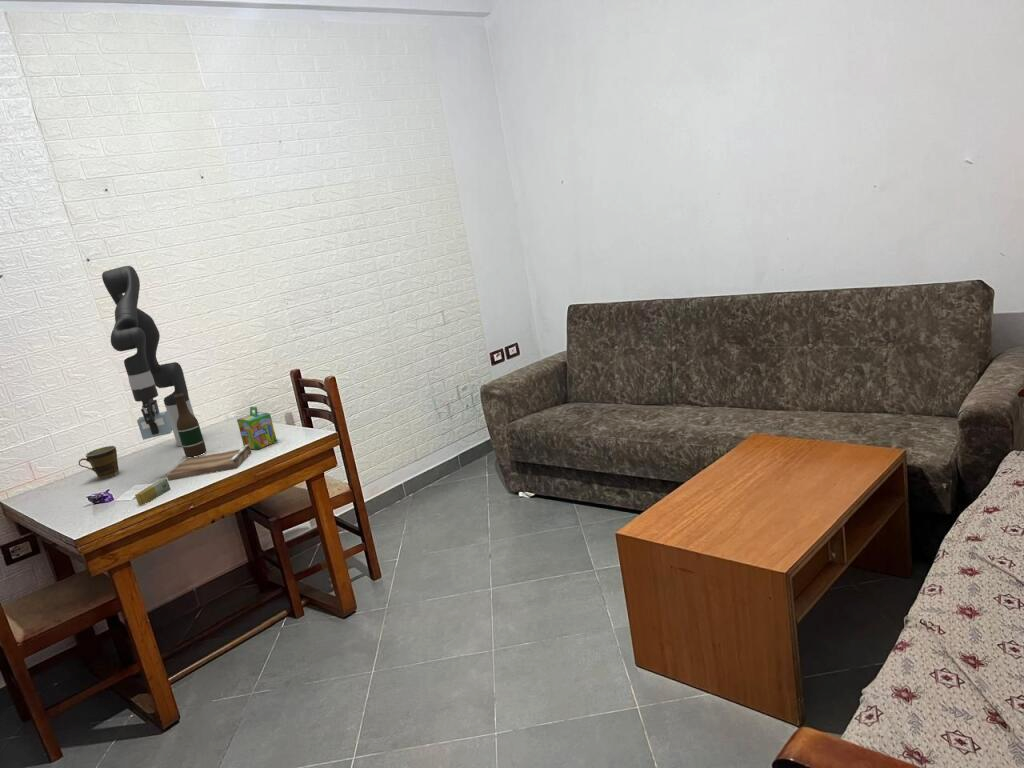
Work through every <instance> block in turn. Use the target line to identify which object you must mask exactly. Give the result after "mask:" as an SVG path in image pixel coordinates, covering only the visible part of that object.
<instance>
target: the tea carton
mask: <svg viewBox="0 0 1024 768" xmlns="http://www.w3.org/2000/svg"><path fill="white" fill-rule="evenodd" d="M149 420H151V418H149ZM155 420H156V424H157V427H158V430H159V433H158V434H155V435H152V432H151V429H150V426H149V425H148V424H146V421H145V419H144V416H143V415H142V416H140V417H138V419H137V420H136V421H137V425H138V427H139V431H140V434H141V438H142V441H143V440H148V439H151V438H156V437H160V436H164V435H170V434H171V433H172V432H173V428H172V425H171V422H170V419H169V415H168V412H167V410H166V411H162V412H161V411H160V413H158V414H156V416H155Z"/></svg>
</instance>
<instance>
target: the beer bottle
mask: <svg viewBox="0 0 1024 768" xmlns="http://www.w3.org/2000/svg"><path fill="white" fill-rule="evenodd" d="M184 396H185V395H184V394H183V393H180V394H176V395H174V399H175V401H176V405H177V409H178V415H179V417H178V420H177V429H178V433H179V436H180V440H181V443H182V446H181V447H182V449H183V453H184V456H185V457H186V458H187V457H194V456H198V455H201V454H203V453H205V452H206V453H207V448H206V444H205V440H204V437H203V434H202V430H201V427H200V423H199V420H198V419H197V417H196V416H195V414H194V415H192V414H191V413H190V411H189V409H188V406H187V404H186V401H185V398H184ZM206 453H205V454H206ZM203 455H204V454H203ZM201 456H202V455H201ZM198 457H199V456H198ZM194 458H195V457H194Z"/></svg>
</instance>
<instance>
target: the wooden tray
mask: <svg viewBox="0 0 1024 768" xmlns="http://www.w3.org/2000/svg"><path fill="white" fill-rule="evenodd" d="M251 452H252V449H250V448H249V445H245V446H244V445H243V447H241V448H240V449H235V450H229V451H224V452H217V453H212V454H208V455H201V456H198V457H194V458H185V459H184V460H183V461H182V462H180V463H179V464H178V465H177V466H176V467H174V468H173V469H172V470H171V471H169V472H168V474H166V477H167V478H166V479H167V481H173V480H179V479H184V478H189V476H191V477H195V475H196V476H200V474H202V475H205V474H204V473H207V474H211V473H210V472H213V473H217V472H216V471H219V472H222V471H221V470H224V471H228V470H227V469H230V470H233V469H234V468H235V469H237V468H238V467H239V466H240V465H241V464H242V463H243V462H244V461H246V459H248V457H249V456H250V455H251V454H252V453H251ZM250 453H251V454H250ZM249 454H250V455H249ZM248 455H249V456H248ZM235 469H234V470H235Z"/></svg>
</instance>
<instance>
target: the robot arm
mask: <svg viewBox="0 0 1024 768" xmlns="http://www.w3.org/2000/svg"><path fill="white" fill-rule="evenodd" d="M101 277H102V282H103V284H104V286H105V288H106V290H107V292H108V294H109V295H110V298H111V299H112V300H113V302H114V304H115V309H114V322H115V323H114V326H113V328H112V331H111V334H110V344H111V347H112V348H113V349H114V350H115V351H118V352H125V351H130V350H135V349H136V353H134V354H133V355H131V356H128V357H126V358H125V359H124V361H123V364H124V367H125V372H126V375H127V377H128V382H129V383H128V384H129V387H130V389H131V392H132V396H133V399H134V401H135V402H139V403H140V402H141V404H142V406H141V409H140V411H141V413H142V417H143V416H144V419H145V421H146V424H148V425H149V426H150V429H151V432H152V435H155V434H158V433H159V430H158V427H157V424H156V420H155V416H156V414H158V413H161V411H160V409H159V405H158V401H157V399H155V398H156V397H158V396H159V393H158V389H165V388H170V387H174V391H173V392H172V393H170V394H169V395H167V396H165V397H164V398H163V403H164V406H165V410H166V411H167V412H168V415H169V419H170V422H171V425H172V428H173V430H172V432H173V436H174V439H175V442H176V445H177V447H183V446H182V443H181V440H180V436H179V433H178V429H177V420H178V417H179V415H178V409H177V405H176V401H175V399H174V395H176V394H180V393H183V394H184V395H185V396H184V398H185V401H186V404H187V406H188V409H189V411H190V413H191V414H192V415H194V416H195V413H194V410H193V407H192V403H191V400H190V397H189V390H188V386H187V383H186V379H185V375H184V374H185V373H184V371H183V368H182V366H181V364H180V363H179V362H176V361H174V362H169V363H163V364H162V363H161V364H160V363H159V361H158V358H157V350H158V346H159V343H160V337H161V336H160V331H159V329H158V326H157V324H156V323H155V320H154V319H153V318H152V316H151V315H149V314H148V313H146V312H145V311H143V310H142V309H140V308H138V302H139V295H140V289H141V288H140V287H141V286H140V285H141V284H140V283H141V282H140V277H139V276H138V273H137V271H136V270H135V268H134V267H133V266H131V265H123V266H120V267H115V268H113V269H109V270H106V271H103V273H102V275H101ZM157 388H158V389H157ZM149 418H151V420H149Z"/></svg>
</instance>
